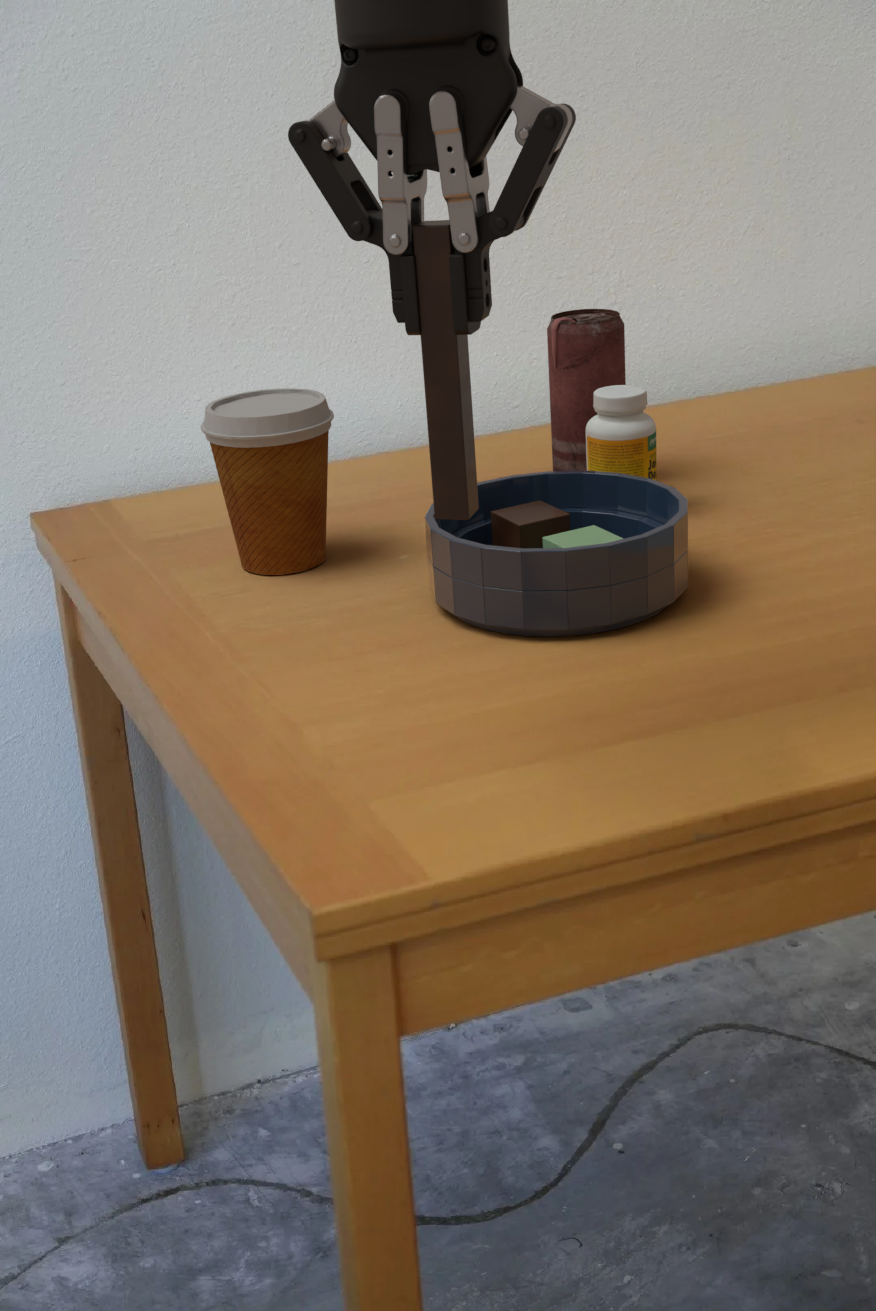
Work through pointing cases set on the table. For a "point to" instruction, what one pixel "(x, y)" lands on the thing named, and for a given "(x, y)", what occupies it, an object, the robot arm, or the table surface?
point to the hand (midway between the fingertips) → (444, 330)
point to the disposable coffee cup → (273, 475)
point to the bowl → (564, 556)
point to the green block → (579, 538)
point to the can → (580, 376)
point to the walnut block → (527, 524)
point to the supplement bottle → (621, 433)
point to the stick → (445, 377)
